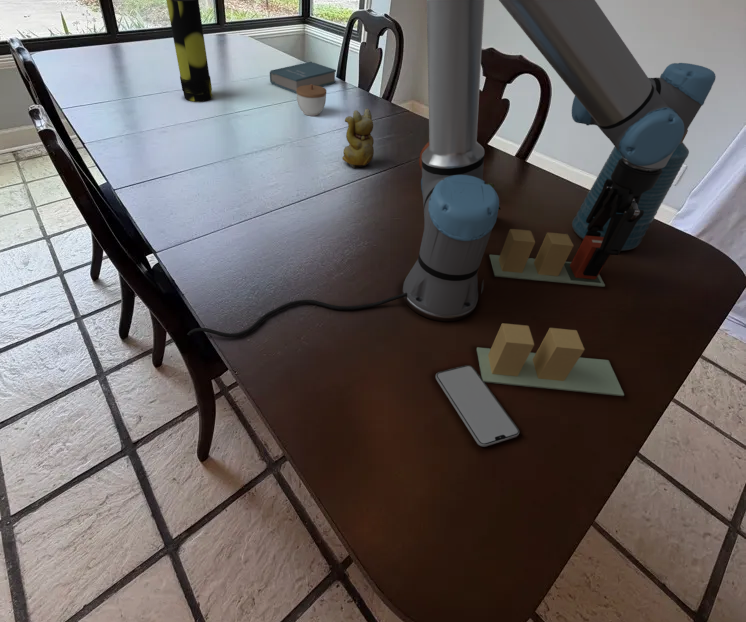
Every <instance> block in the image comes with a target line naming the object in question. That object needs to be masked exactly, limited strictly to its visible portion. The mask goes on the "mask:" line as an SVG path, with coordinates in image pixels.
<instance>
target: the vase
mask: <svg viewBox="0 0 746 622" xmlns="http://www.w3.org/2000/svg"><path fill="white" fill-rule="evenodd" d="M688 129H689V128H688ZM688 129H687V131H686V132H685V134H684V136H683V138H682V140H681V142H680V144H679V145H678V147H677V148H676V150H675V151H674V152H673V154H672V156H671V157H670V159H669V161H668V162H667V164H666V166H665V167H663V168H662V173H661V175H660V177H659V178H658V180H657V182H656V183H655V185H654V187H653V188H652V189H650V190H648V191H646V192H644V193H642V195H641V198H640V201H639V203H638V209H639V210H644V214H643V216H642V217H641V218H640V219H639V220H638V221H637V223H636V224H635V226H634V228H633V230H632V232H631V233H630V235H629V237H628V239H627V240H626V242H625V244H624V246H623V248H622V249H621V251H620V252H623V251H631V250H633V249H635V248H637V247H639V245H640V244H641V243H642V241H643V238H644V236H645V235H646V234H647V232H648V230H649V228H650V227H651V224H652V222H653V221H654V219H655V217H656V216H657V214H658V211H659V209H660V207H661V206H662V203H663V202H664V200H665V198H666V196H667V195H668V193H669V192H670V189H671V187H672V185H673V184H674V182H675V180H676V178H677V176H678V175H679V172H680V171H681V168H682V167H683V165H684V164H685V162H686V160H687V158H689V154H690V150H689V148H688V147H687V146H686V144H685V143H684V140H685V138H686V137H687V134H688V132H689V130H688ZM621 158H622V156H621V154H620V153H619V151H618V150H617V148H616V147H615V146H614V147H613V149H612V151H611V152H610V154H609V155H608V158H607V159H606V161H605V162H604V165H602V168H601V170H600V172H599V173H598V175H597V176H596V179H595V180H594V182H593V184H592V186H591V187H590V189H589V191H588V192H587V194H586V196H585V197H584V200H583V201H582V203H581V205H580V207H579V208H578V210H577V212H576V214H575V216H574V218H573V219H572V221H571V227H572V230H573V232H574V233H575V234H576V235H577V237H579V239H581V240H582V241H583V239H584V237H585V235H586V233H587V231H588V230H587V227H588V225H589V223H586V219H587V217H588V215H589V214H590V212H591V210H592V208H593V206H594V204H595V202H596V201H597V199H598V197H599V195H600V193H601V191H602V189H603V186H604V183H605V181H606V179H611V175H612V173H613V171H614V169H615V167H616V165H617V163H618V161H619V160H620V159H621ZM616 214H624V213H616ZM593 218H594V217H593ZM610 219H611V218H610ZM610 219H609V220H608V221H607V223H606V224H605V225H604V226H603V229H604V231H597V232H600V233H601V235H600V237H604V236H605V233H606V230H607V228H608V225H609V222H610Z"/></svg>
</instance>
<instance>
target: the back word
mask: <svg viewBox="0 0 746 622" xmlns="http://www.w3.org/2000/svg"><path fill="white" fill-rule="evenodd" d="M535 244H536V240H535V238H534V235H533V233H532V231H531V230H527V229H517V228H516V229H515V228H510V229H509V230H508V233H507V235H506V238H505V241H504V244H503V247H502V249H501V251H500V254H489V260H490V264H491V267H492V271H493V275H494V277H496V278H505V279H506V278H508V279H518V280H527V281H537V282H538V281H539V282H549V283H559V284H560V283H561V284H569V285H571V284H572V285H581V286H591V287H601V288H602V287H603V288H604V287H606V284H605V283H604V281H603V279H602V277H601V275H600V274H599V275H598V276H597V278H596V279H586V278H576V277H575V276H574V274H573V271H572V269H571V267H570V264H571V262H572V261H567V260H568V258H569V256H570V254H571V253H572V250H573V248H574V246H575V245H574V243H573V242H572V240H571V237H570V236H569V234H568V233H559V232H558V233H557V232H546V234H545V236H544V238H543V241H542V243H541V245H540V247H539V250H538V252H537V254H536V257H535V258H533V257H530V255H531V254H532V251H533V249H534V246H535Z"/></svg>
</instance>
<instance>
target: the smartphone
mask: <svg viewBox="0 0 746 622" xmlns="http://www.w3.org/2000/svg"><path fill="white" fill-rule="evenodd" d="M435 380H436V381H437V383H438V385H439V386H440V388H441V389H442V391H443V392H444V394H445V396H446V398H448V400H449V402H450V404H451V405H452V406H453V408H454V409H455V412H457V414H458V416H459V418H460V419H461V420H462V422H463V423H464V425H465V427H466V428H467V430H468V432H469V433H470V434H471V436H472V437H473V440H474V441H475V442H476V444H477V445H478V446H480V447H484V448H485V447H488V446H492V445H495V444H498V443H502V442H505V441H508V440H512V439H514V438H517V437H518V436H519V434H520V430H519V427H518V426H517V425H516V424H515V422H514V421H513V420H512V418H511V417H510V415H509V414H508V413H507V412H506V410H505V409H504V407H503V406H502V404H501V403H500V402H499V400H498V399H497V398H496V396H495V395H494V394H493V392H492V390H490V388H489V387H488V385H487V383H486V382H484V381H483V380H482V377H481V375H480V374H479V373H478V371H477V370H476V369H475V367H473V366H472V365H469V364H466V365H462V366H457V367H453V368H450V369H445V370H442V371H438V372H437V373H436V374H435Z"/></svg>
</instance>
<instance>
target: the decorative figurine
mask: <svg viewBox="0 0 746 622" xmlns="http://www.w3.org/2000/svg"><path fill="white" fill-rule="evenodd" d="M344 122H345V123H347V126H348V127H347V129H346V135H345V136H346V137H345V138H346V141H347V143H348V144H349V145H346V146H345V147H344V148H343V156H342V160H343V161H344V162H345V163H347V165H349V166H350V167H351V168H353V169H357V168H361V167H366V166H368V164H370V163H371V162H372V160H373V158H374V154H375V150H374V144H375V143H374V142H375V141H374V136H372V134H371V133H372V132H373V129H374V122H373V116H372V112H371V109H369V108H365V109H364V112H363V115H362V114H361V113H360V112H359V110H356V109H355V110H354V111H353V113H352V116H347V117H345V119H344Z"/></svg>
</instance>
